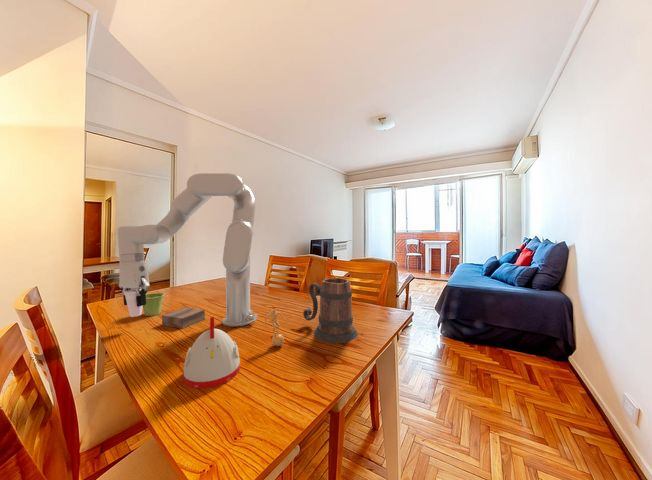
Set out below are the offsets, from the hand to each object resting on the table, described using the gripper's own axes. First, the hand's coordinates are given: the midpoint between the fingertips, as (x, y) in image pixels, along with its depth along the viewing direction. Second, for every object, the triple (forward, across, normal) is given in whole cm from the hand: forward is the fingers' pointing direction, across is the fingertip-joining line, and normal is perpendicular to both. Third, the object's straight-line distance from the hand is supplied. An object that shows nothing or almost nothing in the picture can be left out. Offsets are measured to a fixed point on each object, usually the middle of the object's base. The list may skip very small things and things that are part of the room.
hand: (135, 304), depth 97 cm
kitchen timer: (+11, -49, +14) cm, 52 cm away
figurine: (+12, -57, -6) cm, 59 cm away
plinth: (+10, -10, -12) cm, 19 cm away
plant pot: (+10, +12, -15) cm, 22 cm away
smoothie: (+4, 0, 0) cm, 4 cm away
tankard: (+13, -70, -23) cm, 75 cm away
